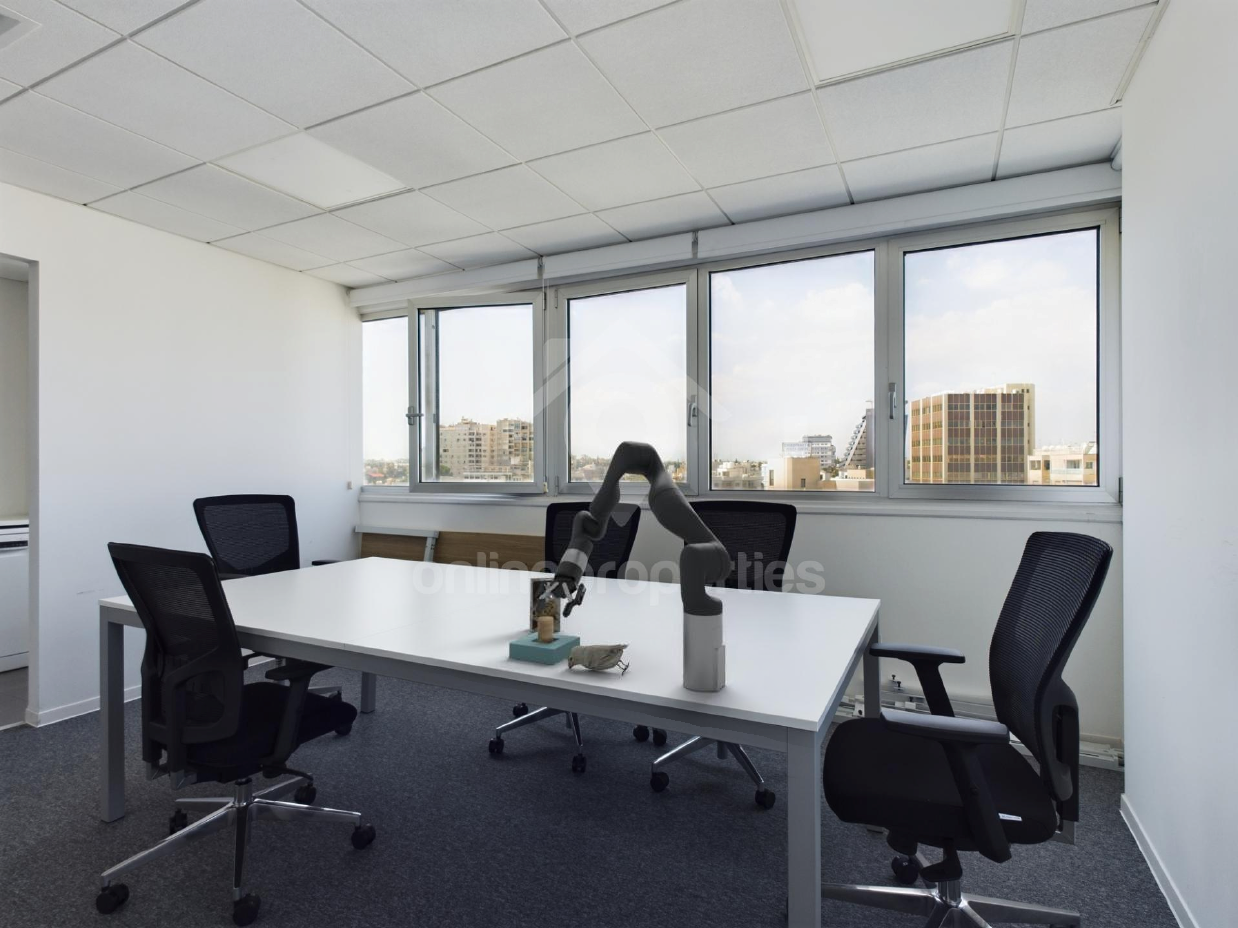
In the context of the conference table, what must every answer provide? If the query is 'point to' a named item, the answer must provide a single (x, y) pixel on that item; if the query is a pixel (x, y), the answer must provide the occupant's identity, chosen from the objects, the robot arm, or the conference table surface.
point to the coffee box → (550, 608)
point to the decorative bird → (597, 656)
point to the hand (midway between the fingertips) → (551, 614)
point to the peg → (545, 629)
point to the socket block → (543, 648)
